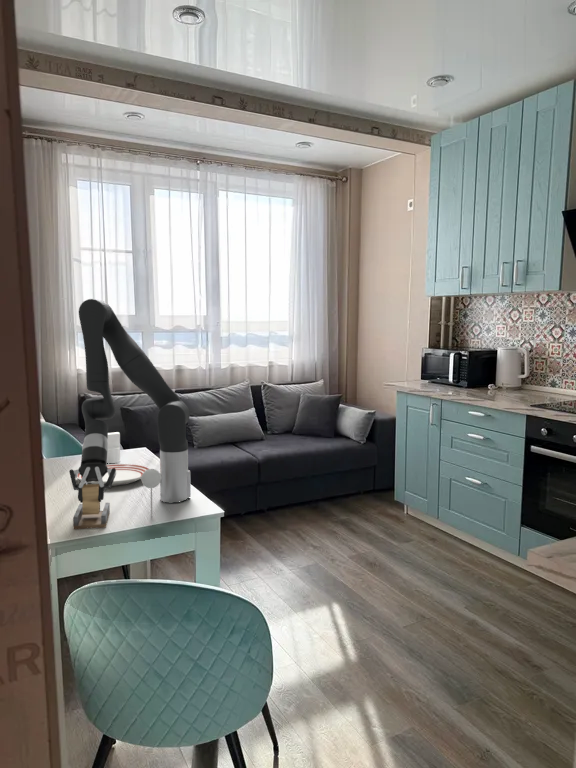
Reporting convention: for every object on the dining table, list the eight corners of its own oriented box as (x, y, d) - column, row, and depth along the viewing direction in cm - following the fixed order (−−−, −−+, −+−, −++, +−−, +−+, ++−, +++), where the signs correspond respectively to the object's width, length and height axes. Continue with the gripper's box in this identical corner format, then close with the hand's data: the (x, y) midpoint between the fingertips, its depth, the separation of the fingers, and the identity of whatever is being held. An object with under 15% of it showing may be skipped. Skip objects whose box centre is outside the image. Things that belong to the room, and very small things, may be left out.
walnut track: (79, 515, 172) (79, 504, 171) (109, 513, 173) (109, 502, 173) (73, 529, 160) (73, 517, 160) (105, 527, 162) (105, 515, 161)
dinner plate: (74, 473, 218) (74, 465, 218) (146, 467, 228) (146, 459, 228) (76, 493, 193) (76, 484, 192) (156, 486, 203) (156, 477, 203)
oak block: (84, 510, 168) (84, 484, 167) (100, 509, 169) (99, 484, 168) (82, 514, 164) (82, 488, 163) (98, 514, 165) (98, 487, 164)
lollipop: (141, 520, 168) (140, 472, 166) (141, 514, 173) (140, 467, 172) (162, 519, 170) (162, 471, 168) (161, 512, 175) (161, 466, 173)
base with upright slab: (116, 457, 242) (115, 430, 241) (123, 462, 235) (122, 434, 234) (95, 460, 237) (94, 433, 236) (101, 465, 230) (101, 436, 229)
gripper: (69, 445, 170) (63, 496, 160) (117, 444, 173) (114, 494, 163) (72, 458, 176) (66, 508, 165) (119, 456, 179) (116, 505, 169)
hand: (90, 500), depth 164 cm, fingers closed on oak block, 4 cm apart
